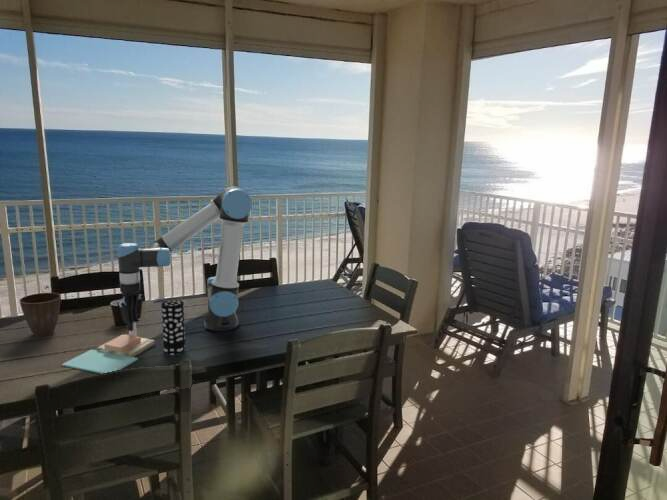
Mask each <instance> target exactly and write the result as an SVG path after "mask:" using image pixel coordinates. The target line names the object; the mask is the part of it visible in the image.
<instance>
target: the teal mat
mask: <svg viewBox="0 0 667 500" xmlns="http://www.w3.org/2000/svg"><path fill="white" fill-rule="evenodd" d="M138 359H139V358H137V357H135V356H134V357H129V356H124V355H118V354H113V353H108V352H102V351H97V349H90V350H88V351H86V352H84V353H82V354H79V355H77V356H75V357H73V358H72V359H69V360H68V361H65V362H64V363H62V364H61V365H62V366H63V367H67V368H71V369H77V370H81V371H86V372H92V373H97V374H101V375H104V374H103V373H107V372H112V371H117V370H119V371H121V370H122V369H124V368H126V367H128V366H129V365H131V364H133V363H134V362H136V361H138Z"/></svg>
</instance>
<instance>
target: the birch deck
mask: <svg viewBox="0 0 667 500" xmlns="http://www.w3.org/2000/svg"><path fill="white" fill-rule="evenodd" d="M122 335H123V334H121V335H119V336H117V337H115V338H112V339H111V340H108V341H106V342H105V343H103V344H101V345H99V346H96V348H97V349H96V350H97V351H102V352H108V353H113V354H118V355H124V356H129V357H134V358H135V357H136V356H138V355H139V354H141V353H144V352H145V351H146V350H148V349H149V348H151V347H154V346H155V345H156V343H155V340H156V339H152V338H151V339H149V338H145V337H141V342H140V343H138V344H136V345H134V346H132V347H130V348H129V349H127V350H125V351H123V352H117V351H111V350H106V349H105V347H104V344H106V343H108V342H110V341H112V340H114V339H116V338H118V337H120V336H122Z"/></svg>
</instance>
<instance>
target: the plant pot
mask: <svg viewBox="0 0 667 500" xmlns="http://www.w3.org/2000/svg"><path fill="white" fill-rule="evenodd" d="M61 297H62V296H61V294H60V293H57V292H42V293H41V292H40V293H33V294H28V295H26V296H23V297H21V298H20V299H19V304H20V309H21V311H22V314H23V317H24V319H25V322H26V323H27V325H28V327H29V329H30V331H31V332H32V334H33V335H34V336H35V337H46V336H50V335H53V334H54V333H55V329H56V327H57V323H58V320H59V315H60V308H61Z"/></svg>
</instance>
